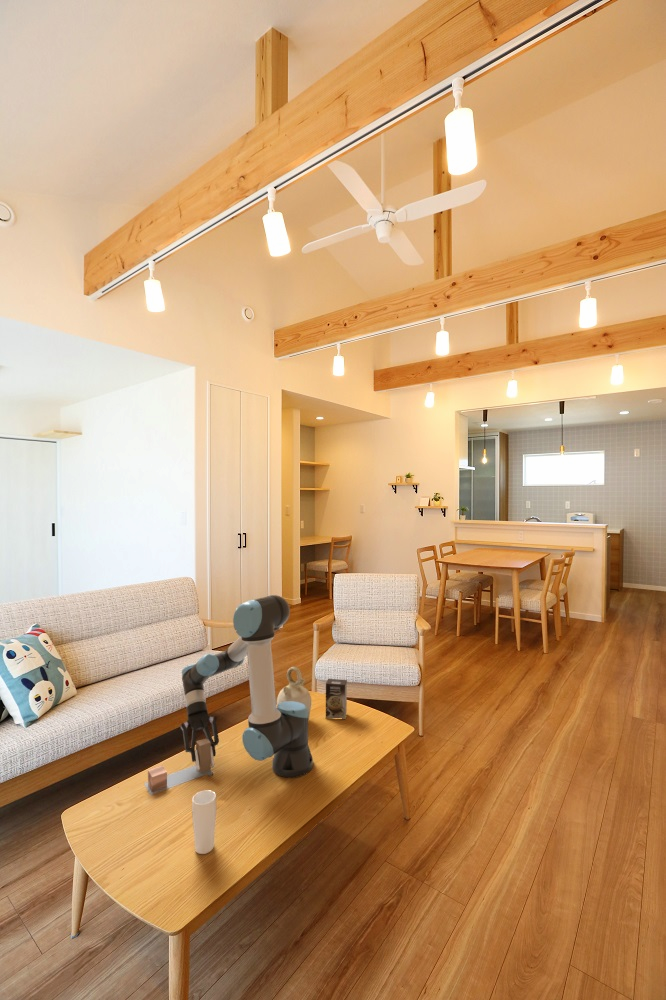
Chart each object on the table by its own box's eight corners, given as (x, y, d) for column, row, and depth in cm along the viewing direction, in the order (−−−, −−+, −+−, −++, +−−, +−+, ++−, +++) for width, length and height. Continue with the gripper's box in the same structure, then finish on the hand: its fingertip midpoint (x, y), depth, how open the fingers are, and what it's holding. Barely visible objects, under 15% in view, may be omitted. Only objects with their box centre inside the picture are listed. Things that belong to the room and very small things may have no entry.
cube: (167, 786, 164) (166, 771, 164) (152, 791, 161) (152, 777, 161) (162, 779, 168) (162, 765, 168) (148, 784, 165) (147, 770, 165)
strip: (212, 774, 173) (212, 744, 173) (150, 797, 160) (150, 765, 159) (204, 764, 179) (204, 735, 179) (143, 786, 166) (143, 754, 166)
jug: (299, 711, 222) (299, 658, 222) (318, 724, 210) (318, 668, 209) (270, 721, 213) (270, 665, 213) (288, 735, 201) (288, 676, 200)
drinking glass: (195, 840, 140) (194, 790, 140) (218, 839, 141) (218, 789, 141) (190, 858, 134) (189, 805, 133) (214, 856, 134) (214, 804, 134)
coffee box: (325, 719, 215) (325, 683, 215) (327, 712, 221) (327, 678, 221) (345, 720, 213) (345, 684, 213) (347, 713, 220) (347, 679, 220)
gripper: (217, 704, 192) (228, 765, 178) (171, 713, 184) (179, 778, 170) (220, 696, 187) (231, 758, 173) (173, 705, 179) (181, 771, 165)
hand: (205, 768), depth 171 cm, fingers closed on strip, 5 cm apart
